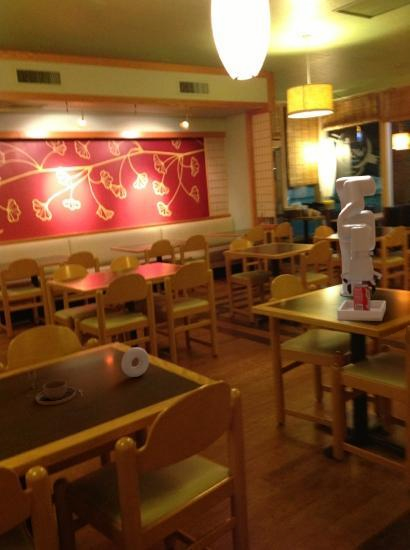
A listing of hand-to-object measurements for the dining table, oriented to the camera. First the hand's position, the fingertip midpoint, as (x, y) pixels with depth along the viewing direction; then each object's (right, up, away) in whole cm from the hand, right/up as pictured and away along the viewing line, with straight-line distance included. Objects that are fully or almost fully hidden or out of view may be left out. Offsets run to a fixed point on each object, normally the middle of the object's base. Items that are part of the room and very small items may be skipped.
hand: (361, 293), depth 232 cm
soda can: (+1, -8, +1) cm, 8 cm away
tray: (+1, -9, +1) cm, 9 cm away
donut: (-91, -26, -55) cm, 109 cm away
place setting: (-115, -30, -65) cm, 135 cm away
